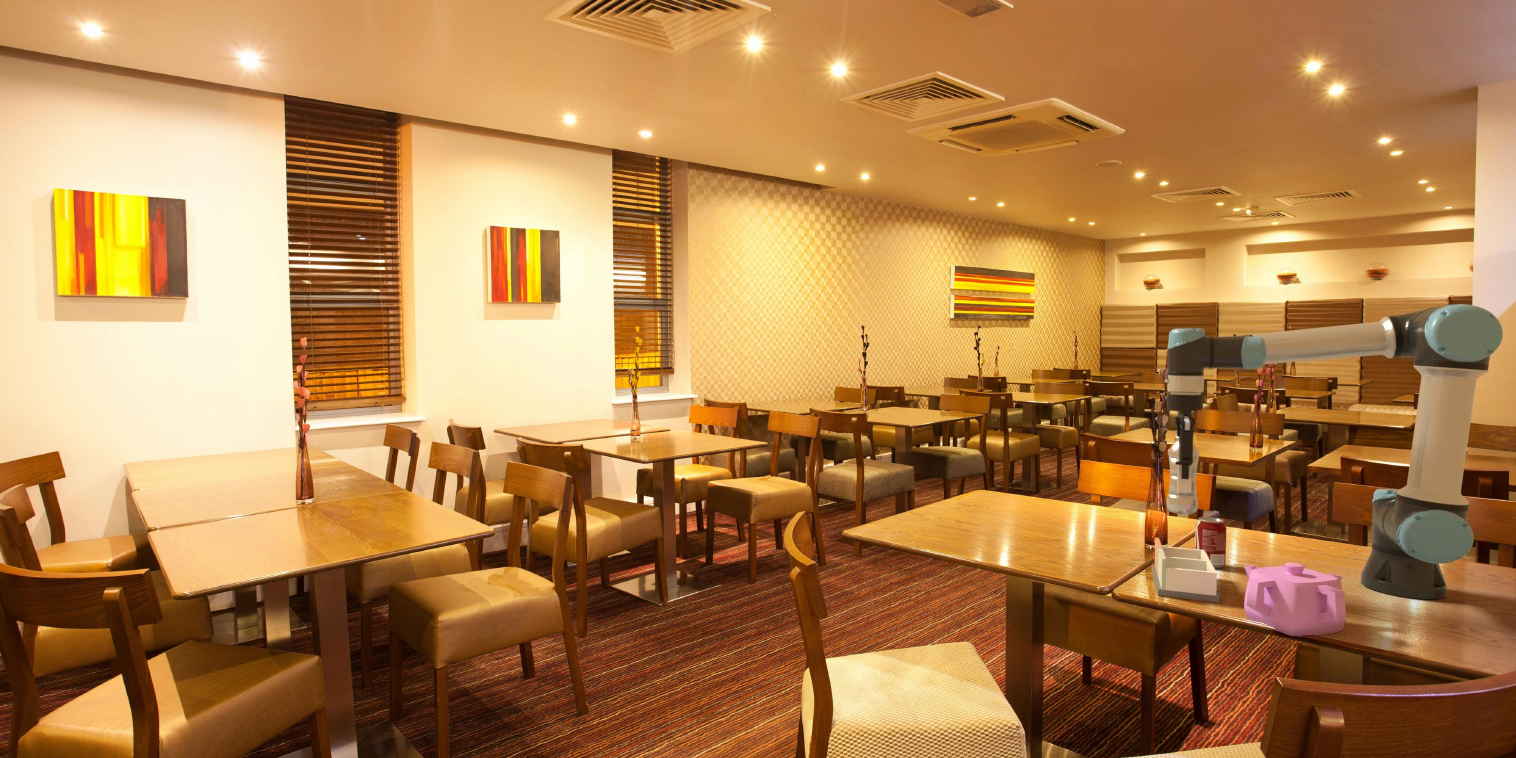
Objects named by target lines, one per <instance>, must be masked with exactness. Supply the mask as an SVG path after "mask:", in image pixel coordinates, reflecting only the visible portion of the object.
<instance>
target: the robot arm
mask: <svg viewBox="0 0 1516 758" xmlns="http://www.w3.org/2000/svg"><path fill="white" fill-rule="evenodd" d="M1503 333H1504V331H1503V327H1502V324H1501V322H1500V320H1499V319H1498V318H1497V317H1496V316H1495V315H1494V314H1493V312H1491V311H1489V310H1487V309H1485V308H1483V307H1480V306H1477V305H1472V304H1465V303H1459V304H1447V305H1442V306H1433V307H1429V308H1425V309H1421V310H1417V311H1414V312H1408V313H1404V314H1398V315H1390V316H1383V317H1382V318H1381V319H1380V320H1379V321H1373V322H1364V323H1363V322H1362V323H1355V324H1353V323H1352V324H1343V325H1333V326H1332V325H1331V326H1323V327H1313V328H1304V329H1294V330H1283V331H1275V332H1265V333H1264V332H1263V333H1254V334H1246V335H1245V334H1243V335H1233V336H1209V335H1207V336H1206V331H1205V329H1204V328H1201V327H1199V328H1174V329H1172V330H1170V331H1169V333H1168V345H1167V346H1168V347H1167V378H1165V379H1164V383H1166V384H1167V392H1169V393H1168V394H1167V395H1166V408H1167V409H1168V410H1171V411H1177V415H1176V416H1174V418H1173V421H1174V432H1175V431H1176V430H1177V436H1178V437H1179V462H1176V465H1178V491H1177V492H1181V493H1191V471H1192V463H1193V443H1194V432H1195V431H1194V430H1195V429H1194V426H1195V423H1196V420H1195V418H1194V417H1192V412H1197V411H1198V412H1199V411H1202V410H1203V409H1204V396H1203V394H1202V393H1204V389H1205V388H1204V385H1205V375H1204V373H1205V369H1210V370H1211V369H1220V370H1221V369H1224V370H1258V369H1260V370H1261V369H1262V368H1263V367H1264V365H1270V364H1283V363H1294V362H1295V363H1297V362H1306V361H1307V362H1310V361H1321V360H1332V359H1334V360H1335V359H1343V358H1354V357H1355V358H1358V357H1368V356H1369V357H1370V356H1380V355H1382V356H1384V357H1386V358H1387V359H1394V358H1395V359H1397V358H1413V359H1414V361H1413V368H1414V369H1415V370H1416V371H1417V372H1418V373H1419V374H1420V376H1421V377H1420V379H1421V380H1420V385H1419V394H1418V401H1417V406H1416V415H1415V422H1414V424H1415V425H1414V430H1413V438H1412V444H1411V451H1410V459H1409V468H1408V476H1407V480H1406V482H1407V483H1406V485H1405V486H1404V487H1402V488H1400V489H1396V488H1395V489H1392V488H1391V489H1390V488H1378V489H1376V490H1374V492H1373V498H1372V500H1371V503H1372V521H1371V522H1372V523H1371V525H1372V526H1371V551H1370V554H1369V556H1368V558H1367V560H1366V562H1365V564H1364V566H1363V569H1362V570H1361V573H1360V583H1361V584H1362V585H1363V586H1364V587H1366V588H1369V589H1371V590H1374V591H1376V592H1380V593H1383V594H1388V595H1392V596H1393V595H1394V596H1398V597H1402V598H1410V599H1420V600H1440V599H1444V598H1447V596H1448V585H1447V582H1446V580H1445V577H1444V573H1443V571H1442V569H1441V566H1440V565H1442V564H1443V565H1444V564H1450V563H1453V562H1456V561H1458V560H1460V559H1462V558H1464V557H1465V556H1466V555H1467V554H1468V553H1469V551H1470V550H1471V549H1472V547H1473V544H1474V540H1475V539H1474V536H1475V535H1474V532H1473V530H1472V527H1471V525H1470V524H1469V522H1468V515H1469V514H1468V513H1469V507H1470V502H1469V500H1467V499H1466V498H1465V497H1464V496H1463V495H1462V485H1463V478H1464V477H1463V476H1464V469H1465V465H1466V464H1465V463H1466V456H1467V449H1468V443H1469V435H1470V428H1471V421H1472V413H1473V407H1474V400H1475V399H1474V398H1475V395H1476V392H1475V391H1476V387H1477V380H1478V379H1479V378H1480V377H1482V376H1484V375H1485V374H1487V373H1488V372H1489V368H1490V367H1489V365H1490V359H1491V355H1493V354H1494V353H1495V352H1496V351H1497V350H1498V348H1499V347H1500V345H1501V343H1502V341H1503V335H1504V334H1503ZM1175 441H1176V438H1175V437H1174V442H1175Z"/></svg>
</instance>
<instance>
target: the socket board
mask: <svg viewBox="0 0 1516 758" xmlns="http://www.w3.org/2000/svg"><path fill="white" fill-rule="evenodd" d="M1154 545H1155V546H1154V564H1151V569H1150V570H1151V574H1152V578H1153V581H1154V586H1155V590H1156V595H1157V597H1158V596H1159V597H1164V598H1174V599H1183V600H1190V601H1191V600H1192V601H1201V602H1210V603H1218V604H1220V602H1221V600H1220V598H1221V596H1220V594H1219V592H1218V589H1217V583H1218V582H1217V580H1218V579H1217V576H1218V575H1217V571H1216V569H1214V567H1213V565H1212V564H1211V562H1210V560H1209V558H1208V556H1207V554H1206V553H1205V551H1204V550H1198V549H1195V548H1185V547H1176V546H1175V547H1174V546H1163V545H1162V543H1161V540H1160V538H1159V537H1155V538H1154Z"/></svg>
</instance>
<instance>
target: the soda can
mask: <svg viewBox="0 0 1516 758" xmlns="http://www.w3.org/2000/svg"><path fill="white" fill-rule="evenodd" d="M1224 522H1225V521H1224V520H1223V519H1222V518H1218V517H1212V516H1200V517H1198V521H1197V522H1196V523H1195V533H1194V534H1195V539H1194V541H1195V543H1194V549H1198V550H1204V551H1205V553H1206V554H1207V556H1208V558H1209V560H1210V562H1211V564H1212V565H1213V567H1214V569H1215V570H1217V569H1221V568H1224V567H1225V566H1226V564H1227V563H1226V560H1227V557H1226V555H1227V526H1226V525H1225V523H1224Z"/></svg>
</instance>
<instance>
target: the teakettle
mask: <svg viewBox="0 0 1516 758" xmlns="http://www.w3.org/2000/svg"><path fill="white" fill-rule="evenodd" d="M1284 564H1285V565H1279V566H1278V565H1277V566H1276V565H1275V566H1265V567H1257V565H1249V564H1248V565H1243V566H1244V570H1245V572H1246V575H1247V577H1248V581H1247V585H1246V589H1245V595H1244V603H1243V605H1244V607H1243V608H1244V613H1245V616H1246V618H1247V619H1248V618H1249V619H1248V620H1250V619H1252V620H1254V621H1257V622H1262V623H1264V624H1267V625H1269V626H1271V627H1273V628H1275V629H1276V630H1275V631H1276V632H1278V633H1282V634H1284V635H1287V636H1290V637H1304V636H1303V635H1314V636H1322V635H1323V636H1325V635H1329V633H1330V634H1334V633H1338V632H1339V631H1340V632H1341V630H1342V631H1343V630H1344V627H1345V624H1346V620H1347V614H1346V612H1347V611H1346V600H1345V591H1344V590H1343V589H1342V584H1341V581H1342V578H1343V577H1342V575H1339V574H1333V573H1328V574H1325V573H1323V572H1319V571H1316V570H1312V569H1310V568H1306V566H1305V565H1304V564H1301V563H1298V562H1286V563H1284ZM1252 620H1251V621H1252ZM1254 621H1253V622H1254Z"/></svg>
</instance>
